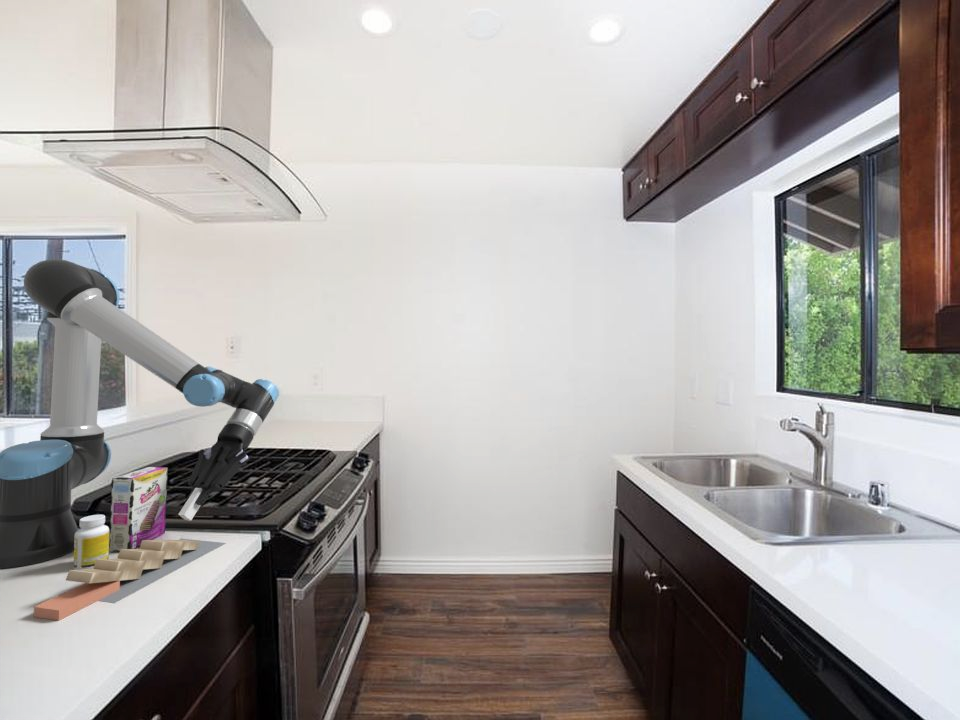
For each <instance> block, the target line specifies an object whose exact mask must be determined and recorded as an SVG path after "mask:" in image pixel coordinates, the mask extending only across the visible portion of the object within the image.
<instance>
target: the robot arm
mask: <svg viewBox="0 0 960 720" xmlns="http://www.w3.org/2000/svg"><path fill="white" fill-rule="evenodd" d="M23 288H24V291H25V293H26V295H27V296H28V298H29V299H30V300H31V301H32V302H34V303H35V304H37V305H38V306H39V307H41V308H42V309H44V310H46V311H47V313H46V320H47V321H48V322H49V323H51V324H52V326H54V344H53V345H54V346H53V349H54V350H53V364H52V383H51V399H50V400H51V402H50V418H49V419H50V420H49V421H50V422H49V426H48V427H47V428H46V429H44V430H43V431H42V432H41V433H40V437H39V439H40V440H33V441H29V442H24V443H18V444H15V445H12V446H9V447H7V448H4V449H3V450H2V451H1V452H0V569H9V568H10V569H11V568H17V567H23V566H29V565H34V564H38V563H42V562H46V561H49V560H52V559H56V558H58V557H61V556H64V555H66V554H68V553H70V552H74V536H75V533H76V532H77V531H78V530H79V528H78V525H77V522H76V520H75V519H74V515H73V513H72V510H71V509H72V490H74V489H76V488H78V487H80V486H82V485H85V484H87V483H90V482H92V481H94V480H95V479H96V478H98V477H99V476H100V475H101V474H102V473H103V472H105V470H106V469H107V468H108V467H109V465H110V462H111V459H112V450H111V447H110V445H109V444H108V443H107V442H106V441H105V430H104V428H102V427H101V426H100V425H98V413H99V412H98V410H99V409H98V408H99V407H98V406H99V391H100V390H99V389H100V388H99V387H100V369H101V352H102V351H101V350H102V342H105V344H108V345H109V346H110V347H112V348H114V349H115V350H117V351H118V352H119V353H121V354H123V355H124V356H125V357H127V358H129V359H130V360H132V361H133V362H134V363H136V364H138V365H139V366H141V367H142V368H144V370H145V369H146V370H147V371H148V372H150V373H152V374H153V375H155V376H156V377H158V379H161V380H162V381H163V382H166V383H167V384H168V385H170V386H171V387H172V388H174V389H176V390H177V391H179V392H180V393H182V394H183V396H184V398H185V400H186V401H187V402H188V404H190V405H192V406H196V407H211V406H214V405H216V404H217V403H221V404H225V405H227V406H230V407H232V408H233V409H234V411H233V413H232V414H231V415H230V417H229V418H228V420H227V422H226V424H224V426H223V428H222V429H221V430H220V432H219V433H218V435H217V441H216V442H215V443H214V444H213V445H212V446H211V448H210V449H207V450H204V449H200V450H199V451H198V458H197V461H196V464H195V465H194V468H193V470H192V473H191V475H190V476H189V480H188V482H187V485H188V486H190V487H191V491H190V493H189V494H188V495H187V496H186V498H185V503H184V505H183V506H182V508H181V510H180V511H179V513H178V516H180V518H182V519H183V520H185V521H192V520H193V518H194V516H195V515H196V513H197V512H198V511H199V509H200V507H201V506H203V505H204V504H205V502H206V501H207V499H208V498H209V496H210V495H211V494H212V493H214V492H221V491H222V490H223V489H224V487H225V486H226V485H227V484H228V482H230V480H231V479H232V478H233V477H234V476H235V475H236V474H237V473H238V471H239V470H240V469H241V468H242V467H243V466H244V465H245V464H246V463H247V462H249V461H250V457H249V456H248V455H247V454H246V452H245V451H246V450H248V448H249V447H250V445H251V443H252V441H253V439H254V437H255V436H256V435H257V433H258V431H259V430H260V428H261V426H262V425H263V424H264V422H265V420H266V418H267V416H268V415H269V413H270V412H271V410H272V409H273V407H274V405H275V403H276V401H277V399H278V398H279V395H280V389H279V388H278V386H277V385H276V384H275V383H274V382H272V381H270V380H268V379H262V378H259V379H258V378H257V379H256V380H255V381H253V382H252V383H251V382H249V381H246V380H243V379H241V378H239V377H236V376H234V375H232V374H230V373H227V372H225V371H223V370H222V369H217V368H215V367H212V366H203V365H201V364H200V363H199V362H198V361H196V360H195V359H193V358H192V357H191V356H189V355H187V354H186V353H185V352H183V351H182V350H180V349H179V348H178V347H175V346H174V345H173V344H171V343H170V342H169V341H167V340H166V339H164V338H162V336H160V335H158V334H156V333H155V332H154V331H152V330H151V329H149V327H146V326H145V325H144V324H142V323H141V322H139V321H138V320H136V319H135V318H133V317H132V316H131V315H129V314H128V313H126V312H125V311H123V310H122V309H120V308H119V307H118V306H119V303H120V291H119V288H118V286H117V285H116V284H115V282H114V281H113V280H112V279H111V278H110V277H108V276H106V275H105V274H104V273H102V272H100V271H99V270H97V269H93V268H89V267H85V266H83V265H80V264H77V263H75V262H72V261H69V260H67V259H66V260H65V259H59V258H58V259H57V258H55V259H54V258H50V259H45V260H41V261H38V262H36V263H34V264H32V265H31V266H30V267H29V268H28V270H27V271H26V273H25V274H24V276H23Z"/></svg>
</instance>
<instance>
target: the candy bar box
mask: <svg viewBox="0 0 960 720" xmlns="http://www.w3.org/2000/svg"><path fill="white" fill-rule="evenodd" d="M168 470H169V467H164V466H163V467H162V466H161V467H160V466H147V467H144V468H141V469H139V470H135V471H131V472H128V473H124V474H121V475H117V476H114V477H112V478H111V502H110V504H111V505H110V520H109V521H110V524H109V526H110V527H109V553H119V552H120V549H139V548H140V545H141V542H142V540H156V539H158V538H159V537H161V536H163V535H165V534H166V517H167V516H166V515H167V513H166V512H167V495H168V494H167V493H168V492H167V487H168V472H169V471H168Z"/></svg>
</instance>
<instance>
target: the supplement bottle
mask: <svg viewBox="0 0 960 720" xmlns="http://www.w3.org/2000/svg"><path fill="white" fill-rule="evenodd" d="M105 523H106V516H105V514H92V515H88V516H87V515H86V516H84V517H82V518H80V519H79V526H78V527H79V528H80V529H79V528H78V531H77V532H76V533H75V536H74V550H73V570H80V569H93V568H94V565H95V562H96V559H110V558H109V555H110V554H109V553H110V552H109V543H110V527H109V526H108V525H106V524H105Z"/></svg>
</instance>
